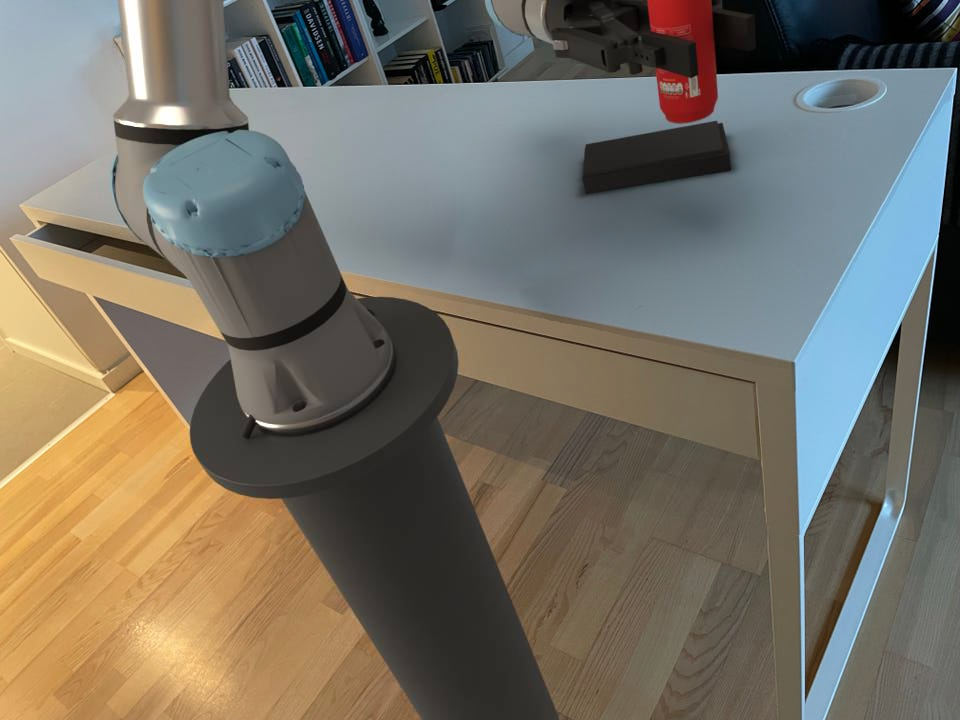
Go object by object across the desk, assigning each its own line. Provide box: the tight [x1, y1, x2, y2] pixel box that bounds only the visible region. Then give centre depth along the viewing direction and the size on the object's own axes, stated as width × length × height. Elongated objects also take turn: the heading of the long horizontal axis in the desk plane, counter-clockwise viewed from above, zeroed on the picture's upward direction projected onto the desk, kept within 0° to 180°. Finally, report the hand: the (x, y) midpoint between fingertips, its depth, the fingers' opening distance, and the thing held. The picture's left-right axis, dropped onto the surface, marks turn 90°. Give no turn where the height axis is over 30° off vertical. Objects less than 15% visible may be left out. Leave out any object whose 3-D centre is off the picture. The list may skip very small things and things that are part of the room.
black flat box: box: [581, 120, 732, 194], centre depth 88 cm, size 16×8×2 cm, turn 82°
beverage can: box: [647, 0, 719, 125], centre depth 68 cm, size 5×5×12 cm
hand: (722, 46), depth 63 cm, fingers closed on beverage can, 5 cm apart
